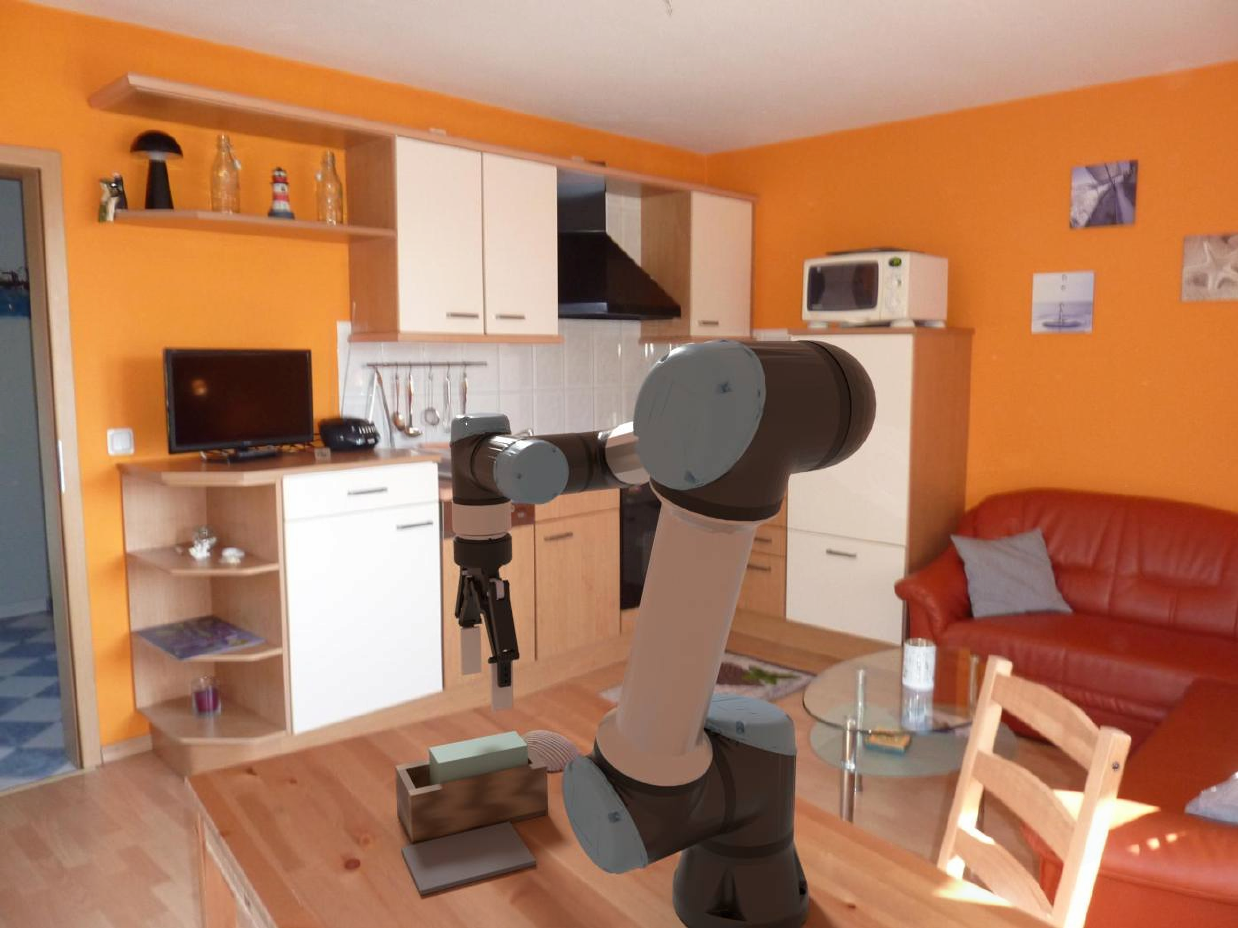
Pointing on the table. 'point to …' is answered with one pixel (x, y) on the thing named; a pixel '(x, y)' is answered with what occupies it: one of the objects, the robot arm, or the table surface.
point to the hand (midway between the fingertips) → (486, 690)
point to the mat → (466, 857)
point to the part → (476, 757)
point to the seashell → (552, 748)
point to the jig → (468, 799)
